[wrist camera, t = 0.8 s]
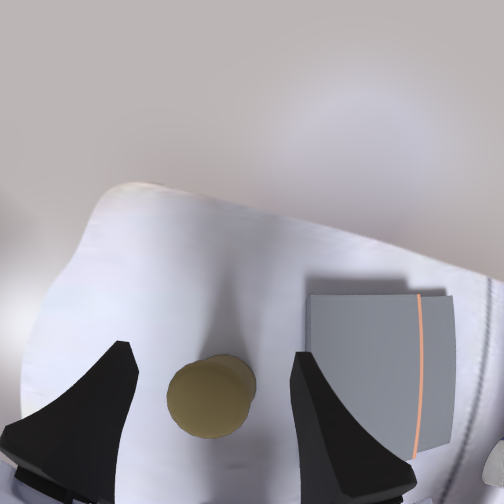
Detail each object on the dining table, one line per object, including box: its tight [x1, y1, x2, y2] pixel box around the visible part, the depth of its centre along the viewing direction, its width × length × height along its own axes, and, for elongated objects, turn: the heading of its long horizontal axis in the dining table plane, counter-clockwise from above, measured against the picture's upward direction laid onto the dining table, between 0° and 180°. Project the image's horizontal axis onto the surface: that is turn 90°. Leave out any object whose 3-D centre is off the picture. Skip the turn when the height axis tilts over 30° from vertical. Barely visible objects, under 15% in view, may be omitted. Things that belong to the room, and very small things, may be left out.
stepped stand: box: [306, 294, 456, 461], centre depth 23 cm, size 17×17×3 cm
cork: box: [167, 355, 256, 439], centre depth 20 cm, size 6×6×11 cm
